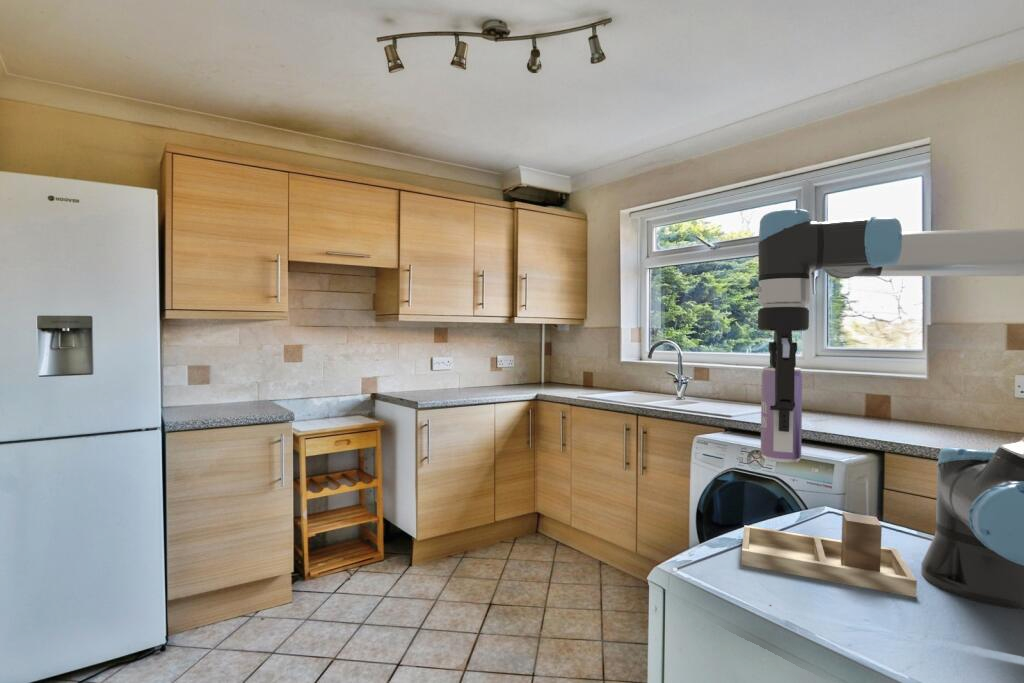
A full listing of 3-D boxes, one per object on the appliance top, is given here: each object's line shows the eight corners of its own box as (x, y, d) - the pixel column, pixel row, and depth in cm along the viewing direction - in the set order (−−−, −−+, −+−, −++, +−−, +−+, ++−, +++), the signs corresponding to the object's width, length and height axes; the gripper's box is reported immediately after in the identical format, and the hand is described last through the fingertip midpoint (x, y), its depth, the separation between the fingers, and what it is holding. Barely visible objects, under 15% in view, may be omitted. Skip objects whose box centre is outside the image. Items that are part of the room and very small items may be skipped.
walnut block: (874, 568, 94) (876, 516, 94) (879, 579, 90) (881, 525, 90) (840, 562, 97) (842, 512, 96) (844, 573, 92) (846, 520, 92)
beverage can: (806, 463, 86) (808, 369, 86) (766, 462, 87) (768, 368, 87) (793, 455, 92) (794, 367, 92) (756, 454, 93) (757, 366, 93)
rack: (896, 567, 97) (896, 549, 97) (916, 601, 84) (916, 580, 84) (743, 541, 107) (744, 525, 107) (741, 568, 95) (741, 550, 95)
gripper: (755, 309, 99) (754, 436, 99) (760, 303, 82) (758, 457, 82) (802, 309, 96) (800, 439, 96) (817, 302, 79) (815, 461, 79)
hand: (781, 447), depth 89 cm, fingers closed on beverage can, 6 cm apart
